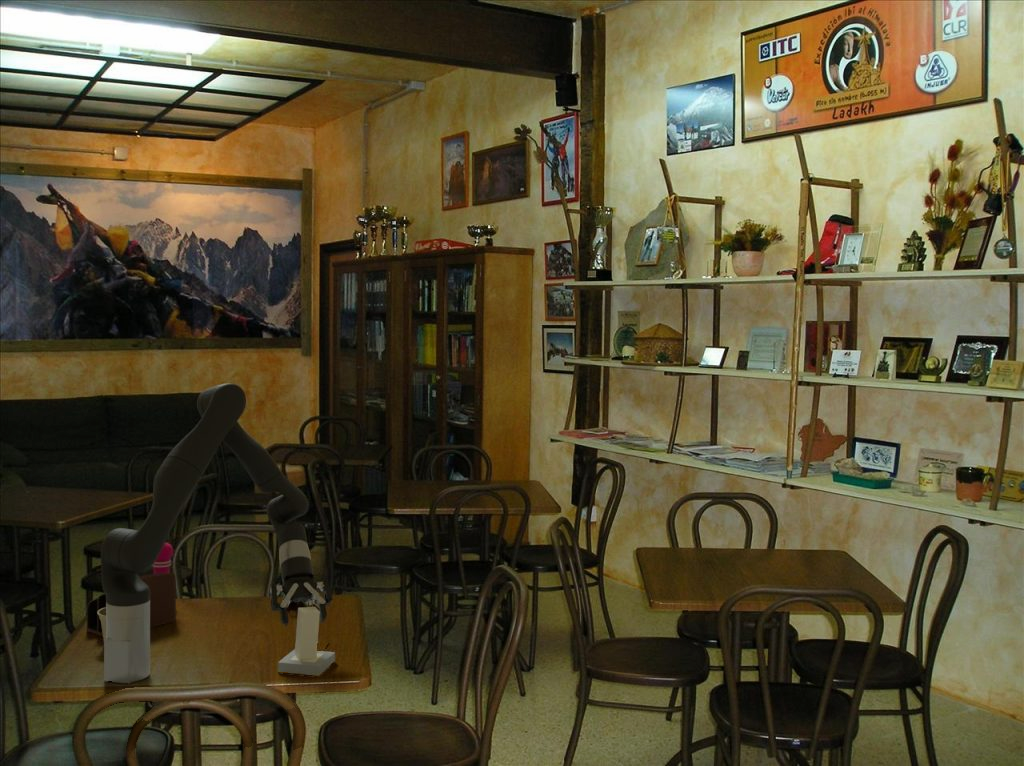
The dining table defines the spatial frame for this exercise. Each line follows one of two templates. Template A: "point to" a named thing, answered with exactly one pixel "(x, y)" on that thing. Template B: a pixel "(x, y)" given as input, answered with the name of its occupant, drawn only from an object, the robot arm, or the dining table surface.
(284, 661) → the slab
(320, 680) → the dining table surface
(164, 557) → the pepper mill
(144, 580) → the letter holder
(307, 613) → the pillar
